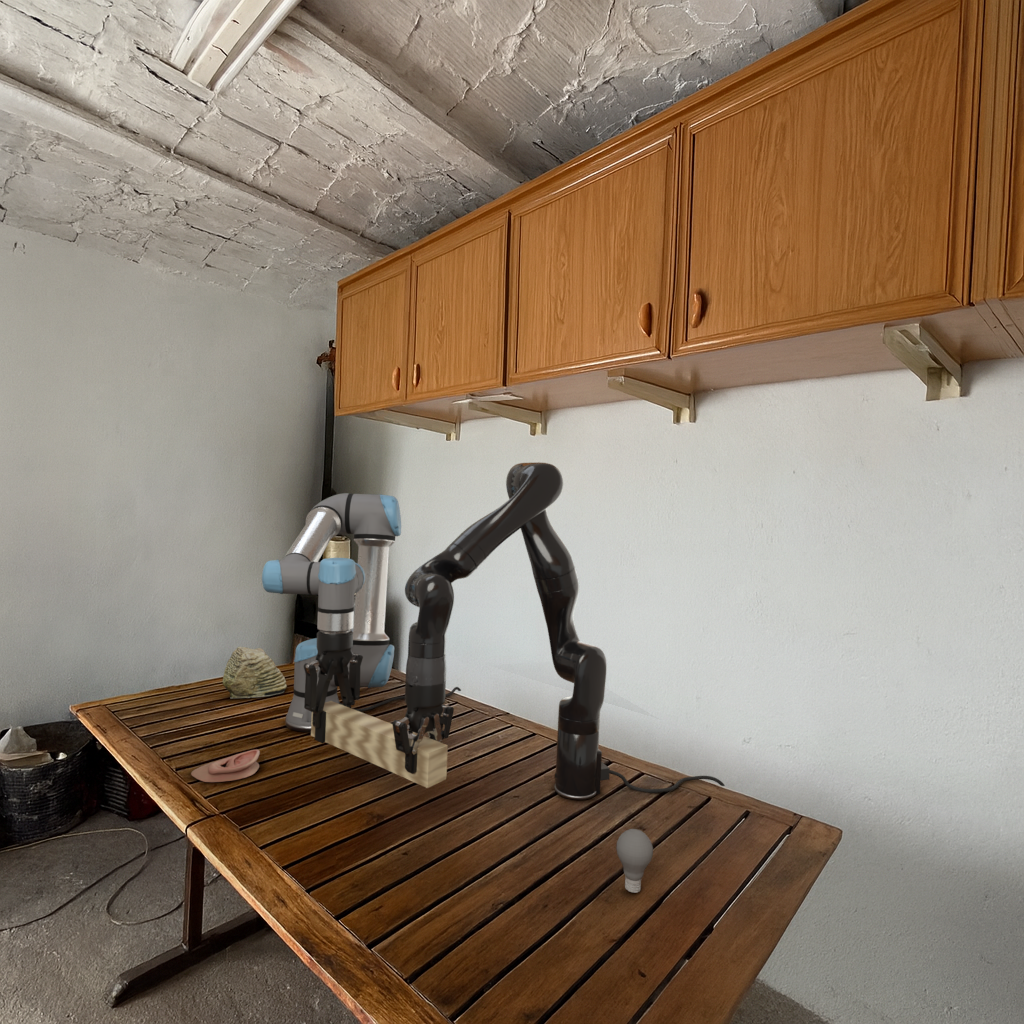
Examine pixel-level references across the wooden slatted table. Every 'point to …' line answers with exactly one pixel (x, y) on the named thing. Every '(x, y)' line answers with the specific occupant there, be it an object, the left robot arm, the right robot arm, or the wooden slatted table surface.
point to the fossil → (252, 674)
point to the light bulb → (634, 857)
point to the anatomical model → (229, 768)
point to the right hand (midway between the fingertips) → (422, 767)
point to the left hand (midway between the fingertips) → (331, 737)
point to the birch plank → (382, 744)
